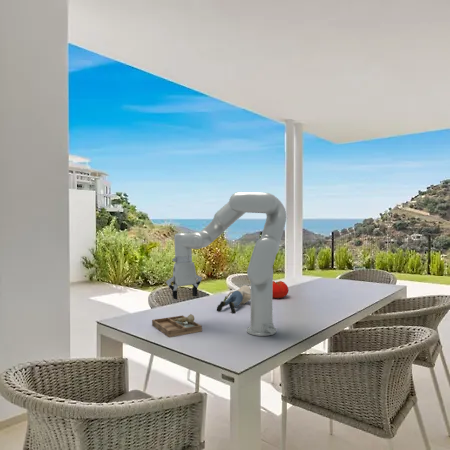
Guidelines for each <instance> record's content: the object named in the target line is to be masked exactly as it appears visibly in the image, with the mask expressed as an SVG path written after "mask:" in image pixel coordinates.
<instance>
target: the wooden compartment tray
mask: <svg viewBox="0 0 450 450" xmlns="http://www.w3.org/2000/svg"><path fill="white" fill-rule="evenodd" d="M178 317H182V318H185V317H186V316H184V315H179V316H177V315H176V316H169V317H163V318H162V317H161V318H156V319H152V320H151V325H152V327H154V328H155V329H156V330H158V331H159V332H161V333H163V335H165V336H166V337H168V338H172V337H179V336H183V335H189V334H194V333H201V332H202V331H203V325H201V324H199V323H198V322H196V321H195V320H194V321H193V322H189V323H190V324H188V322H183V323H184V326H183V324H182V322H179V321H173V320H175V319H176V318H178Z"/></svg>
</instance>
